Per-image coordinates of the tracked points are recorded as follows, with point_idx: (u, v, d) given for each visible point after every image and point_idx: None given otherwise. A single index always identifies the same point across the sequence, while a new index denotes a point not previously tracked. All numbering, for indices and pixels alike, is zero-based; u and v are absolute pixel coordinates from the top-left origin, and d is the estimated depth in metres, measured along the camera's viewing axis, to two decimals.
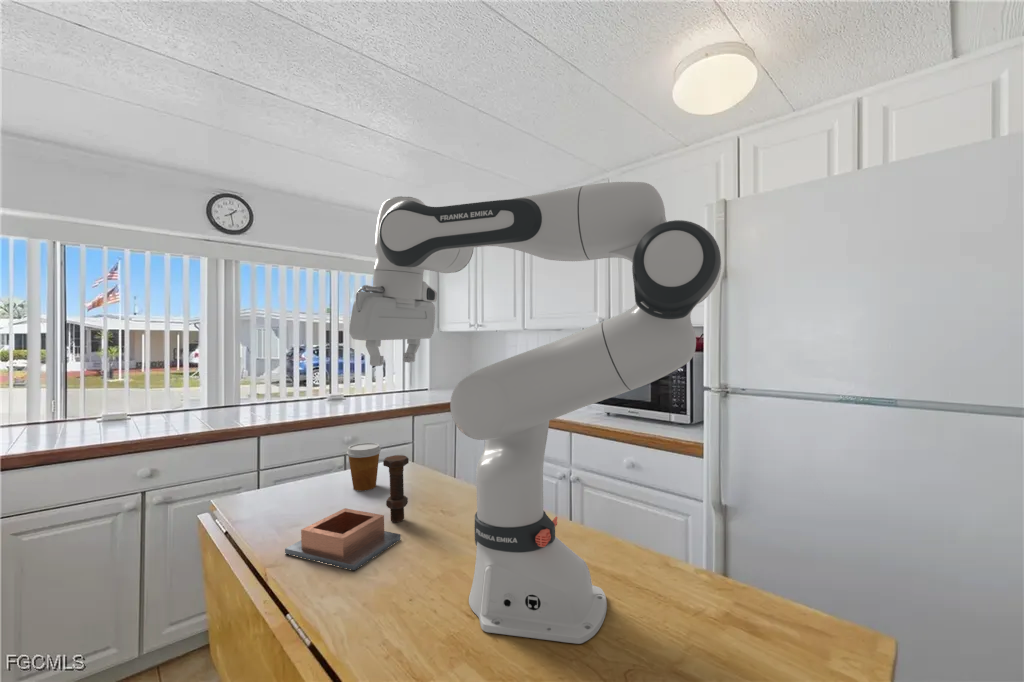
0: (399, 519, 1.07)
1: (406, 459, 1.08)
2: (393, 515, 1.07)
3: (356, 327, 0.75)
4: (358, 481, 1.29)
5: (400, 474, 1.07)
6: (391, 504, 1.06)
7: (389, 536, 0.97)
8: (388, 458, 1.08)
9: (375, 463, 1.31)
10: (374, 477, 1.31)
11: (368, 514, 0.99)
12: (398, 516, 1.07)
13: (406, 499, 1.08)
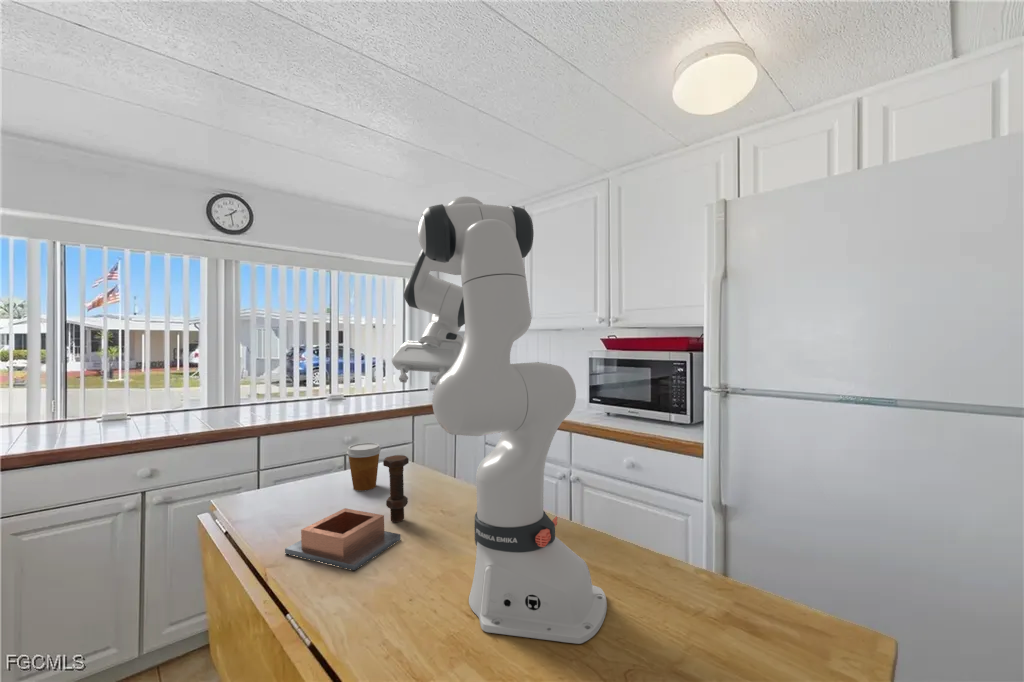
0: (399, 519, 1.07)
1: (406, 459, 1.08)
2: (393, 515, 1.07)
3: None
4: (358, 481, 1.29)
5: (400, 474, 1.07)
6: (391, 504, 1.06)
7: (389, 536, 0.97)
8: (388, 458, 1.08)
9: (375, 463, 1.31)
10: (374, 477, 1.31)
11: (368, 514, 0.99)
12: (398, 516, 1.07)
13: (406, 499, 1.08)
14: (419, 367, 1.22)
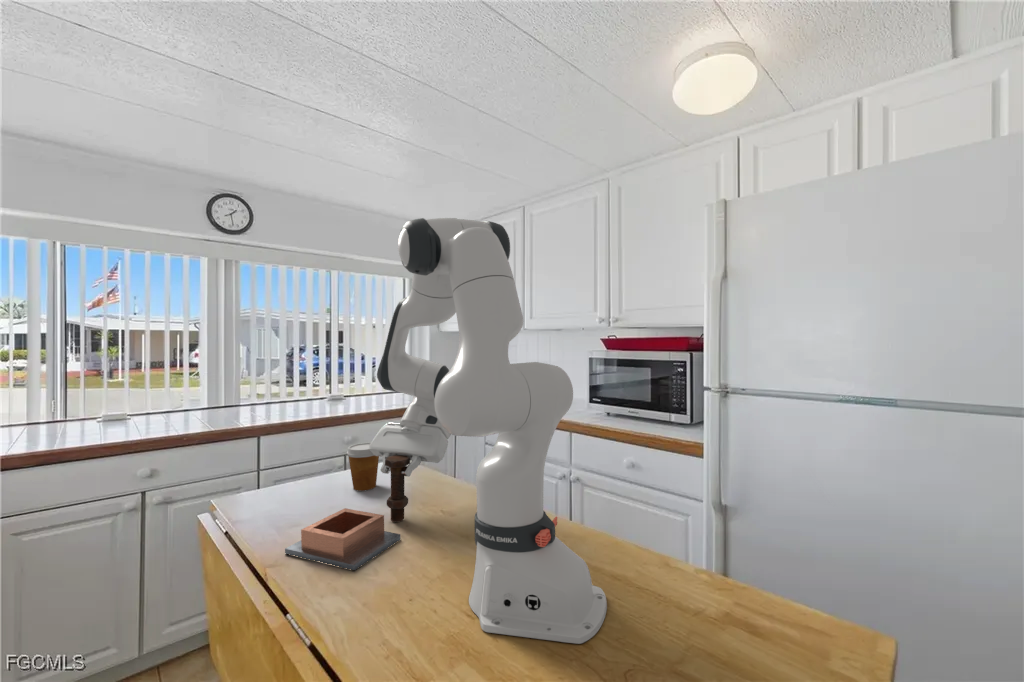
0: (399, 519, 1.07)
1: (408, 459, 1.08)
2: (393, 515, 1.07)
3: None
4: (358, 481, 1.29)
5: (401, 474, 1.07)
6: (392, 504, 1.06)
7: (389, 536, 0.97)
8: (390, 458, 1.07)
9: (375, 463, 1.31)
10: (374, 477, 1.31)
11: (368, 514, 0.99)
12: (398, 516, 1.07)
13: (407, 499, 1.08)
14: (398, 454, 1.12)
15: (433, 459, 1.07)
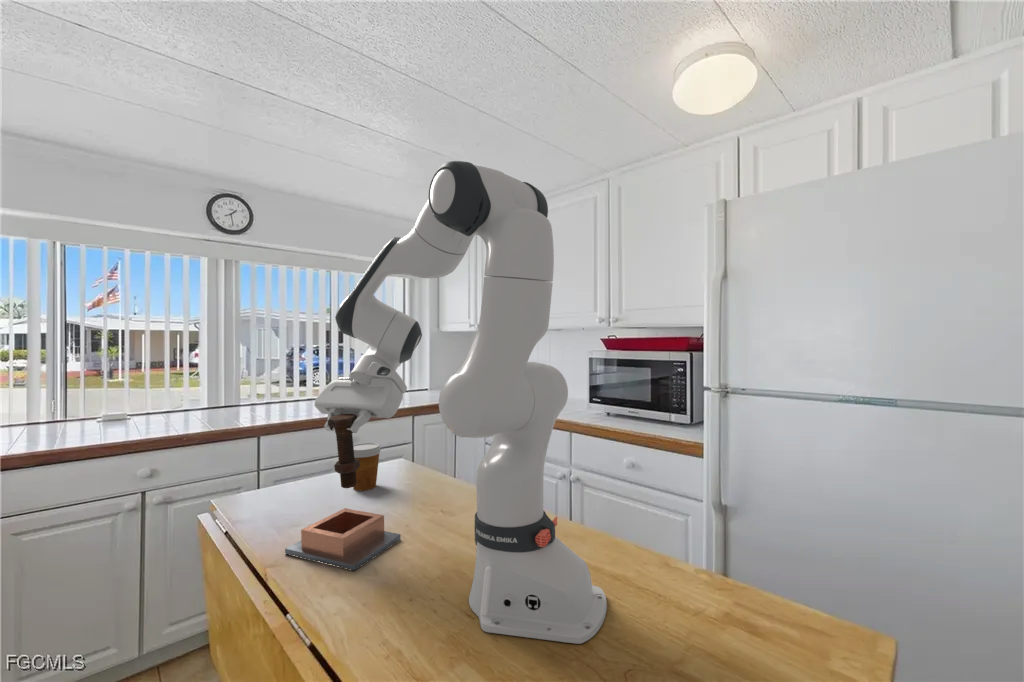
0: (351, 484, 0.94)
1: (354, 417, 0.94)
2: (343, 480, 0.94)
3: None
4: (358, 481, 1.29)
5: (348, 434, 0.94)
6: (340, 468, 0.93)
7: (389, 536, 0.97)
8: (333, 417, 0.94)
9: (375, 463, 1.31)
10: (374, 477, 1.31)
11: (368, 514, 0.99)
12: (349, 481, 0.94)
13: (358, 462, 0.96)
14: (346, 410, 0.99)
15: (383, 413, 0.94)
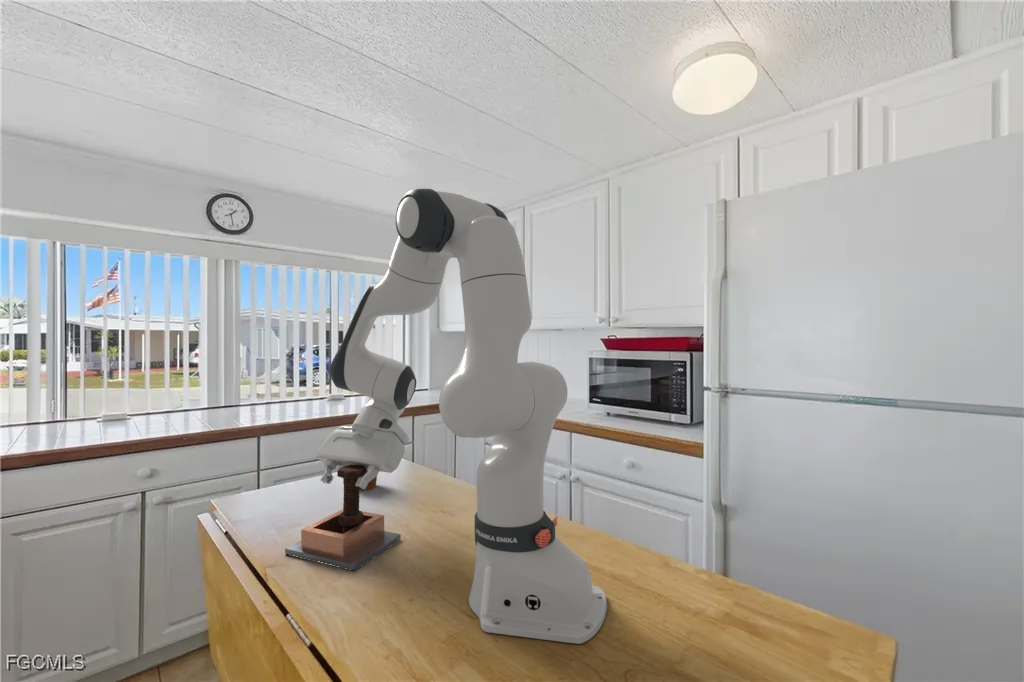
0: None
1: (364, 469, 0.96)
2: None
3: None
4: None
5: None
6: (344, 520, 0.94)
7: (389, 536, 0.97)
8: (343, 468, 0.96)
9: None
10: None
11: (368, 514, 0.99)
12: None
13: (361, 515, 0.96)
14: (348, 462, 1.00)
15: (385, 468, 0.94)
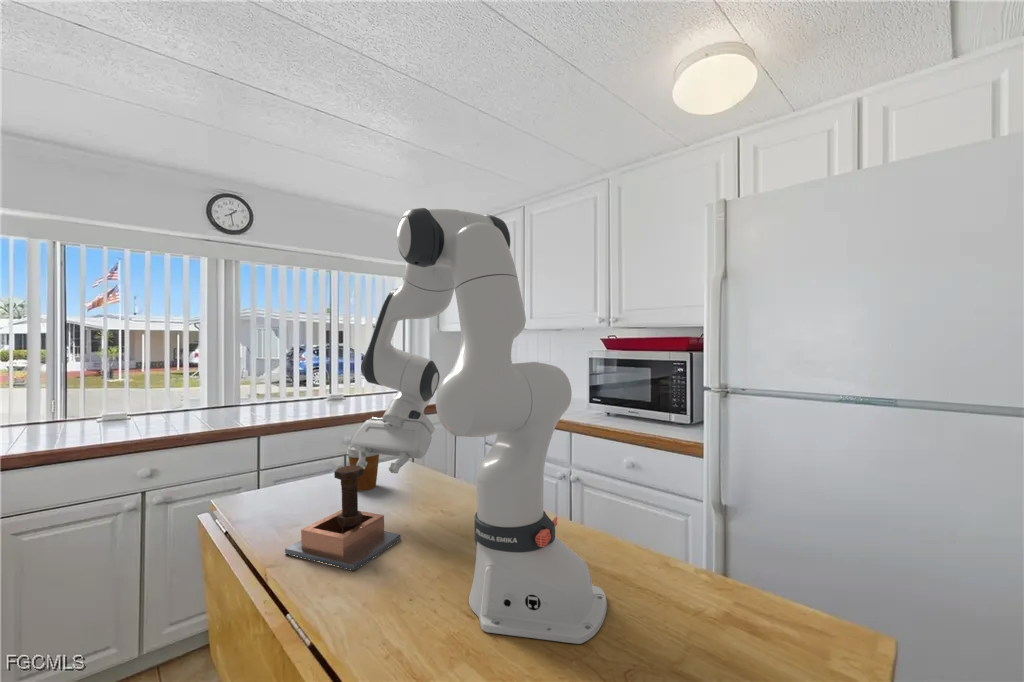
0: None
1: (361, 470, 0.96)
2: None
3: None
4: (358, 481, 1.29)
5: (354, 487, 0.95)
6: (343, 521, 0.94)
7: (389, 536, 0.97)
8: (340, 469, 0.95)
9: (375, 463, 1.31)
10: (374, 477, 1.31)
11: (368, 514, 0.99)
12: None
13: (360, 515, 0.96)
14: (380, 450, 1.09)
15: (415, 455, 1.04)
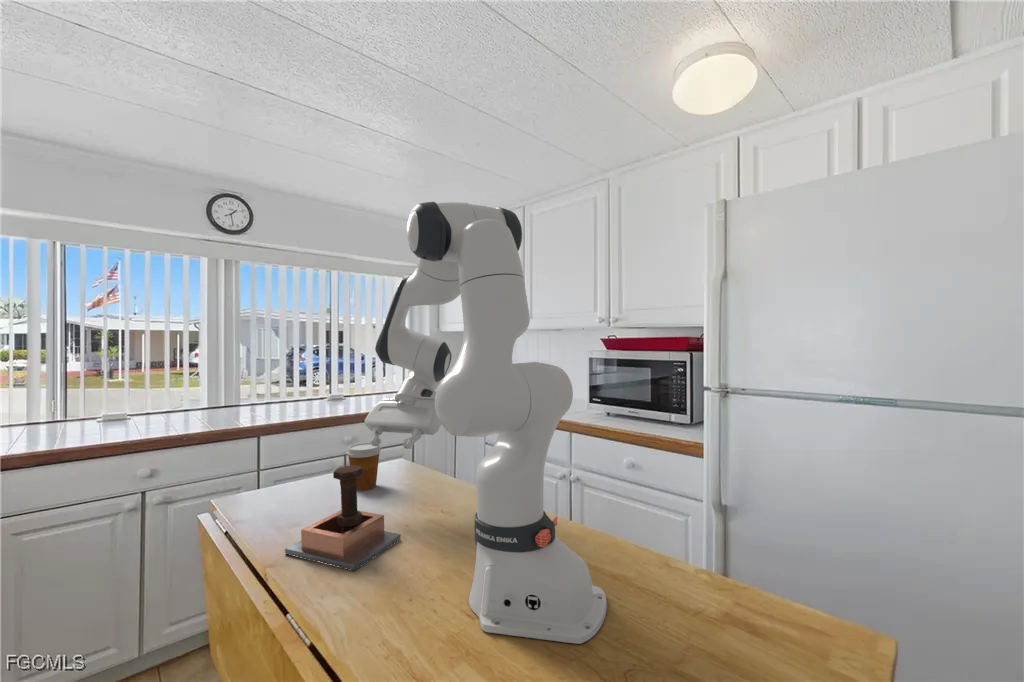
0: None
1: (360, 470, 0.96)
2: None
3: None
4: (358, 481, 1.29)
5: (353, 487, 0.95)
6: (342, 521, 0.94)
7: (389, 536, 0.97)
8: (339, 469, 0.95)
9: (375, 463, 1.31)
10: (374, 477, 1.31)
11: (368, 514, 0.99)
12: None
13: (360, 515, 0.96)
14: (393, 428, 1.12)
15: (428, 430, 1.07)
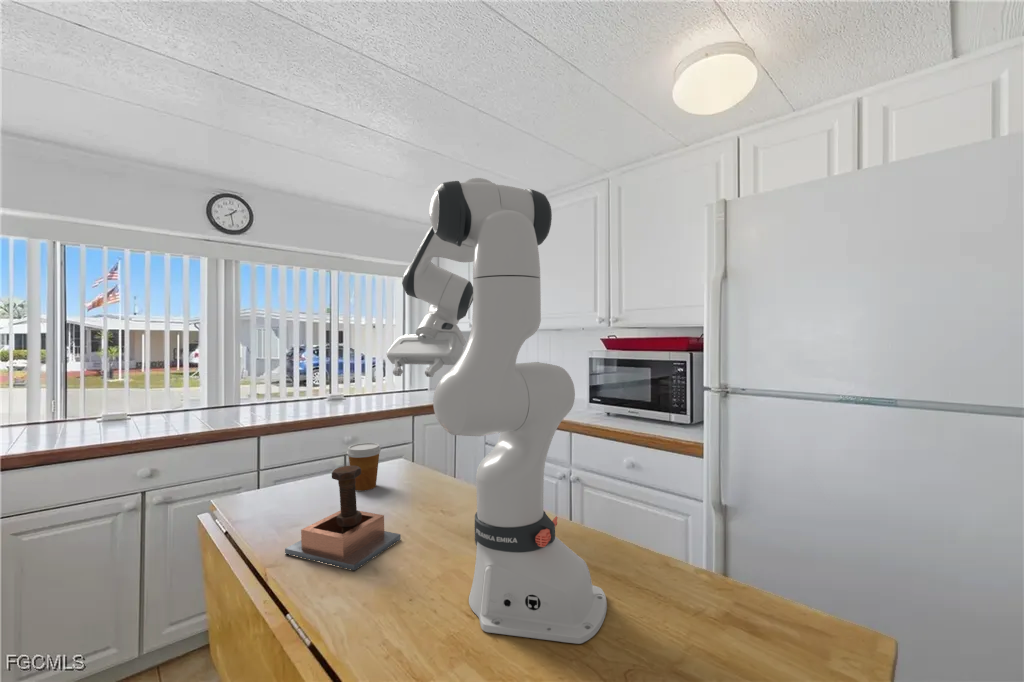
0: None
1: (358, 470, 0.95)
2: None
3: None
4: (358, 481, 1.29)
5: (351, 487, 0.95)
6: (342, 522, 0.93)
7: (389, 536, 0.97)
8: (337, 470, 0.95)
9: (375, 463, 1.31)
10: (374, 477, 1.31)
11: (368, 514, 0.99)
12: None
13: (360, 515, 0.96)
14: (414, 360, 1.16)
15: (449, 360, 1.10)
